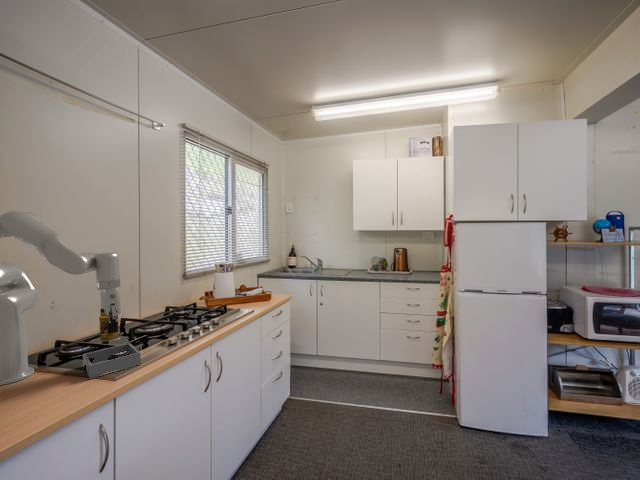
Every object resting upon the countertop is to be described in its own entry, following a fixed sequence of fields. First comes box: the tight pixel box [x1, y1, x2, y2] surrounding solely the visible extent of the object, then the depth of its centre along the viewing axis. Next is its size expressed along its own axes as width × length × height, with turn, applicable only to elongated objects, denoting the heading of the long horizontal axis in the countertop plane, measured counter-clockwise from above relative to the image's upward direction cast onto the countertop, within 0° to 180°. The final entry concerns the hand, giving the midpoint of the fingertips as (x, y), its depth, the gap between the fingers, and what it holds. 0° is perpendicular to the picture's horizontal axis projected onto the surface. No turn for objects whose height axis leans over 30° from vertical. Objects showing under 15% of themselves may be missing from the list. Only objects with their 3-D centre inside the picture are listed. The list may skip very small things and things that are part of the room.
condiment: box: [97, 308, 124, 343], centre depth 120 cm, size 7×8×12 cm
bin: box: [82, 342, 142, 380], centre depth 120 cm, size 16×15×5 cm
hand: (111, 330), depth 120 cm, fingers closed on condiment, 6 cm apart
